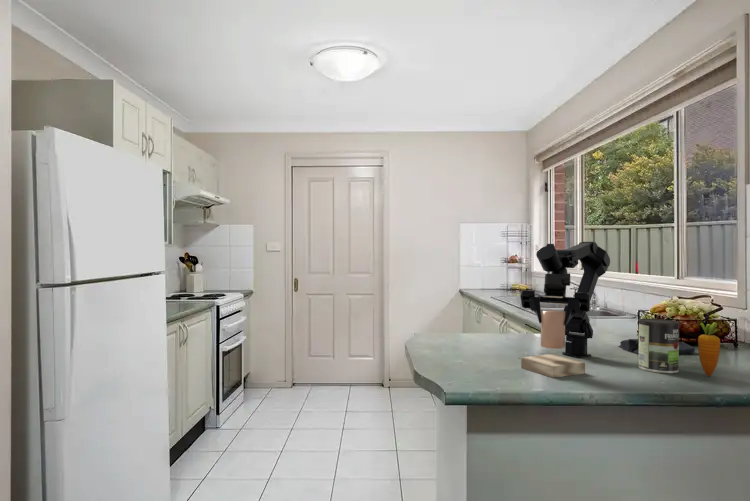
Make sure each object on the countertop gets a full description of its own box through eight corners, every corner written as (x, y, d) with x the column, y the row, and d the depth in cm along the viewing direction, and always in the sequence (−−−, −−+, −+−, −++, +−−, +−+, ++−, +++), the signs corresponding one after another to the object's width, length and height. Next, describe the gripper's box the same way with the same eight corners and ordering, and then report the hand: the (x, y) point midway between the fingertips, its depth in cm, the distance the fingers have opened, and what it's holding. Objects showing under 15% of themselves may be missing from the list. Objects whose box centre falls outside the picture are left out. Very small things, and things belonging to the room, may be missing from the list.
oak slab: (551, 364, 145) (552, 354, 145) (584, 373, 134) (585, 362, 134) (521, 367, 139) (521, 357, 139) (552, 377, 129) (553, 366, 129)
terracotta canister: (552, 343, 141) (552, 309, 141) (570, 347, 135) (570, 311, 135) (535, 345, 138) (536, 310, 138) (553, 349, 132) (553, 313, 132)
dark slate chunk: (702, 357, 159) (702, 343, 159) (634, 356, 160) (634, 341, 160) (676, 348, 174) (676, 335, 174) (613, 346, 175) (613, 333, 175)
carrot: (693, 374, 134) (693, 320, 134) (710, 374, 135) (710, 320, 135) (707, 378, 129) (707, 323, 129) (724, 378, 130) (725, 323, 130)
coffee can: (687, 371, 138) (687, 322, 138) (664, 375, 133) (665, 324, 133) (651, 363, 147) (652, 317, 147) (630, 367, 142) (630, 319, 142)
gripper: (521, 263, 144) (515, 303, 134) (589, 264, 136) (588, 307, 126) (525, 287, 151) (519, 327, 141) (590, 290, 143) (589, 332, 133)
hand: (552, 323), depth 135 cm, fingers closed on terracotta canister, 6 cm apart
